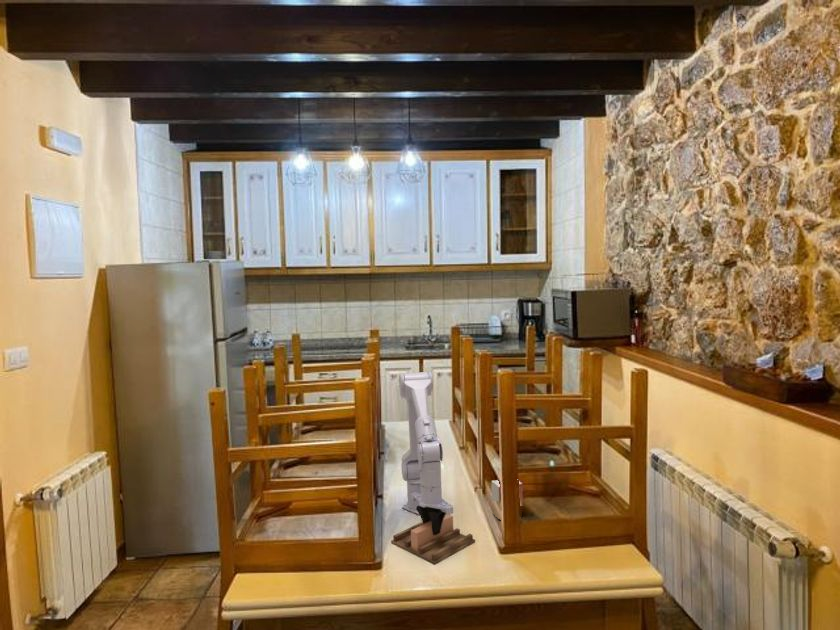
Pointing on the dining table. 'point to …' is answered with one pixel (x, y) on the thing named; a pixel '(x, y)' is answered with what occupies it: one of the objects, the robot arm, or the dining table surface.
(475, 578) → the dining table surface
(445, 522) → the clay block
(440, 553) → the rack
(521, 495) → the small box
